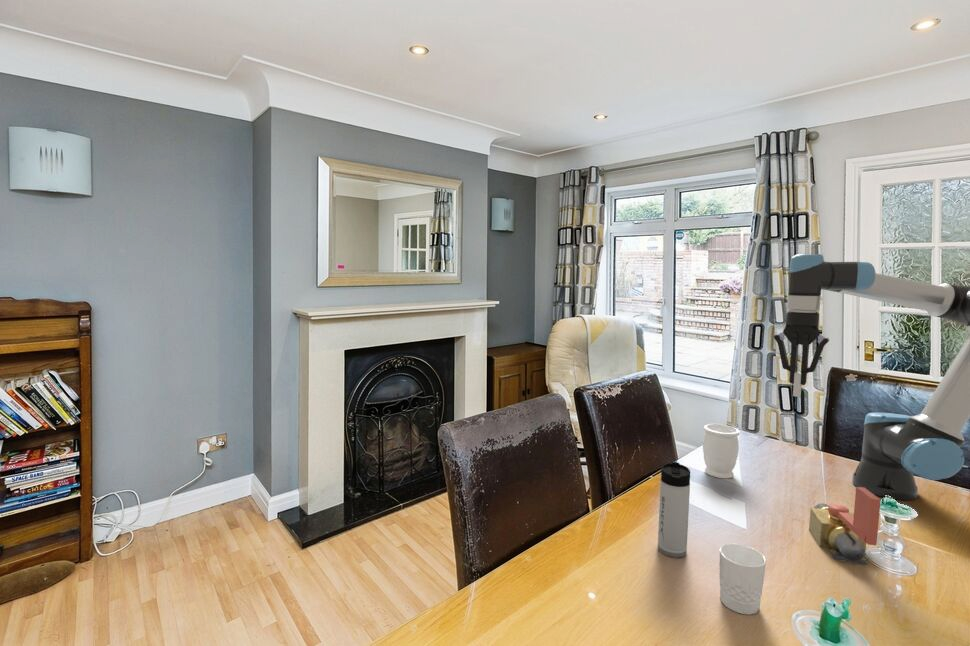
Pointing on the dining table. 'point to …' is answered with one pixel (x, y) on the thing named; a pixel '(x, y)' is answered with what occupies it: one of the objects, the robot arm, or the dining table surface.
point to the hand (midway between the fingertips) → (796, 395)
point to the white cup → (741, 578)
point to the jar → (720, 449)
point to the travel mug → (674, 510)
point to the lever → (861, 515)
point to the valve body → (836, 535)
